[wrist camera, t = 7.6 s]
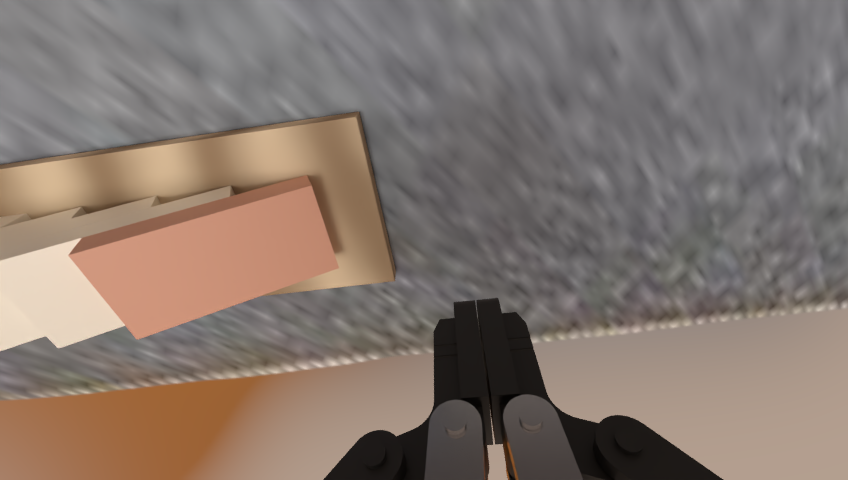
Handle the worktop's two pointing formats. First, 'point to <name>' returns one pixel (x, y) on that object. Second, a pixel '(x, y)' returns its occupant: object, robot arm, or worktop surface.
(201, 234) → the domino
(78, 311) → the domino
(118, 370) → the worktop surface
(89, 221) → the domino
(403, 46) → the worktop surface
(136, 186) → the board
